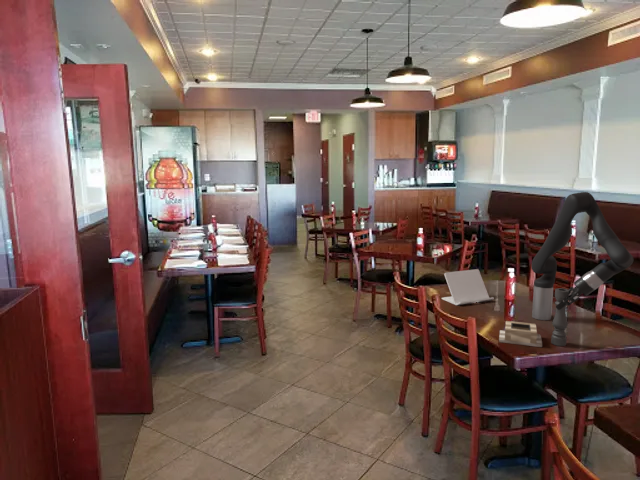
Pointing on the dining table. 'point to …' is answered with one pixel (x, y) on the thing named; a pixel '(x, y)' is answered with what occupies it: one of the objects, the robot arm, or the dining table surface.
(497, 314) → the dining table surface
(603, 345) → the dining table surface
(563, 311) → the candle holder
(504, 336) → the socket
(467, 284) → the grey laptop
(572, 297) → the robot arm
